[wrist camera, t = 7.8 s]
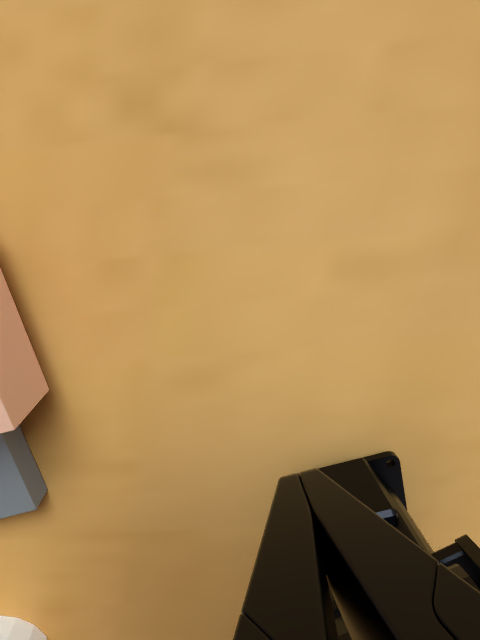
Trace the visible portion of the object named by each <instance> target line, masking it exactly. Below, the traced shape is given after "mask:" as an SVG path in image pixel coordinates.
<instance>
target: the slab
mask: <svg viewBox="0 0 480 640" xmlns="http://www.w3.org/2000/svg"><path fill="white" fill-rule="evenodd" d="M48 391H49V388H48V385H47V383H46V380H45V378H44V375H43V373H42V370H41V368H40V365H39V363H38V360H37V358H36V355H35V353H34V350H33V348H32V346H31V343H30V341H29V338H28V336H27V333H26V331H25V328H24V326H23V323H22V321H21V318H20V316H19V313H18V311H17V308H16V306H15V303H14V301H13V298H12V296H11V293H10V291H9V288H8V286H7V283H6V281H5V278H4V276H3V273H2V271H1V268H0V433H4V432H8V431H12V430H15V429H16V428H17V426H18V425H19V424H20V423H21V422H22V421H23V420H24V418H25V417H26V416H27V415H28V414H29V413H30V411H31V410H32V409H33V408H34V407H35V406H36V405H37V403H38V402H39V401H40V400H41V399H42V398H43V397H44V395H45V394H46V393H47V392H48Z"/></svg>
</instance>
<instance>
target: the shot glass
mask: <svg viewBox="0 0 480 640" xmlns="http://www.w3.org/2000/svg"><path fill="white" fill-rule="evenodd" d="M0 640H48V639H47V636H46V635H45V634H44V633H42V632H41V631H40V630H39V629H38V628H37V627H36V626H35V625H34V624H31V623H29V622H27V621H24V620H22V619H20V618H17V617H8V616H0Z"/></svg>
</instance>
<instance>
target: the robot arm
mask: <svg viewBox="0 0 480 640" xmlns="http://www.w3.org/2000/svg"><path fill="white" fill-rule="evenodd" d="M388 460H392V461H391V462H390V463H387V461H388ZM241 612H242V614H241V615H240V617H239V620H238V624H237V627H236V631H235V634H234V638H233V640H480V548H479V547H478V546H477V545H476V544H475V543H474V542H473V541H472V540H471V539H470V538H469V537H468V536H467V535H464V536H462V537H460V538H457V539H455V543H453V544H451V545H449V546H447V547H444V548H442V549H440V550H438V551H436V552H433V550H432V548H431V547H430V545H429V544H428V542H427V541H426V539H425V538H424V536H423V535H422V533H421V532H420V530H419V528H418V527H417V525H416V524H415V522H414V521H413V519H412V518H411V516H410V515H409V513H408V512H407V507H406V500H405V493H404V486H403V480H402V473H401V466H400V461H399V458H398V457H397V456H396V454H395V453H393V452H391V451H388V452H383V453H379V454H375V455H371V456H367V457H363V458H359V459H355V460H351V461H347V462H343V463H339V464H335V465H331V466H327V467H323V468H320V469H311V470H307V471H304V472H301V473H300V474H292V475H288V476H284V477H281V478H280V479H279V481H278V484H277V488H276V491H275V495H274V498H273V502H272V505H271V509H270V512H269V516H268V519H267V523H266V526H265V530H264V533H263V537H262V540H261V544H260V547H259V551H258V554H257V558H256V561H255V565H254V568H253V572H252V575H251V579H250V582H249V586H248V589H247V593H246V596H245V600H244V603H243V607H242V611H241Z"/></svg>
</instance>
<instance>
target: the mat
mask: <svg viewBox="0 0 480 640" xmlns="http://www.w3.org/2000/svg"><path fill="white" fill-rule="evenodd" d="M47 490H48V489H47V487H46V484H45V482H44V480H43V478H42V475H41V473H40V471H39V469H38V466H37V464H36V462H35V460H34V457H33V455H32V453H31V451H30V448H29V446H28V444H27V441H26V439H25V437H24V435H23V432H22V430H21V428H20V426H19V425H18V426H17V428H16V429H15V430H12V431H8V432H4V433H0V519H1V518H5V517H9V516H13V515H17V514H21V513H25V512H29V511H33V510H37V508H38V506H39V504H40V502H41V501H42V499H43V497H44V495H45V494H46V492H47Z"/></svg>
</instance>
